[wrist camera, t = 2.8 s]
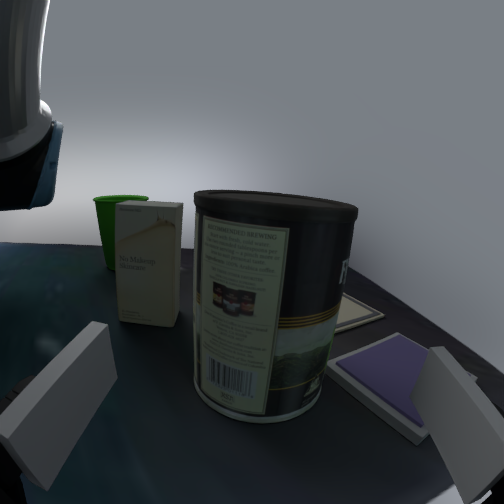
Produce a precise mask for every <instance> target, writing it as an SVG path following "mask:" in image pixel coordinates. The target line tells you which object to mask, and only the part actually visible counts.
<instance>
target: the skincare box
mask: <svg viewBox="0 0 504 504" xmlns="http://www.w3.org/2000/svg"><path fill="white" fill-rule="evenodd" d="M182 216H183V203H174V202H156V201H134V200H128V201H124V202H121V203H116V208H115V272H116V290H117V304H118V316H119V320H120V321H124V322H131V323H138V324H146V325H154V326H162V327H174V324H175V322H176V319H177V316H178V313H179V296H180V255H181V234H182Z"/></svg>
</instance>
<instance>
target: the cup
mask: <svg viewBox="0 0 504 504" xmlns="http://www.w3.org/2000/svg"><path fill="white" fill-rule="evenodd" d="M148 199H149V198H148V197H146V196H137V195H114V196H101V197H96V198H94V199H93V201H95V204H96V212H97V218H98V224H99V230H100V236H101V241H102V246H103V251H104V256H105V261H106V265H107V266H108V268H109V269H111V270H115V208H116V203H121V202H124V201H128V200H134V201H147V200H148Z"/></svg>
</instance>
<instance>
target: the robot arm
mask: <svg viewBox="0 0 504 504" xmlns="http://www.w3.org/2000/svg"><path fill="white" fill-rule="evenodd" d="M49 2H50V0H0V211H8V210H21V209H28V210H30V209H32V208H34V207H42V206H46V205H48V204H50V203H51V202H52V200H53V197H54V193H55V184H56V174H57V165H58V158H59V150H60V145H61V138H62V132H63V124H62V123H61V122H57V121H52V117H51V110H50V108H49V107H48V105H47V104H46V103H45V102H43V101H41V100H40V79H41V78H40V77H41V60H42V50H43V40H44V32H45V25H46V19H47V13H48V8H49ZM117 378H118V377H117V373H116V368H115V363H114V358H113V352H112V347H111V341H110V335H109V328H108V324H103V323H98V322H94V321H92V322H91V323H90V324H89V325H88V326H87V327H86V328H85V329H83V330H82V331H81V332H80V333H79V334H78V335H77V336H76V337H75V338H74V339H73V340H72V341H71V342H70V343H69V344H68V345H67V346H66V347H65V348H64V349H63V350H62V351H61V352H60V353H59V354H58V355H57V356H56V357H55V358H54V359H53V360H52V361H51V362H50V363H49V364H48V365H47V366H46V367H45V368H44V369H43V370H42V371H41V372H40V373H39V374H38V375H37V376H36V377H35V376H33V375H30V376H28V377H27V378H25V379H23V380H21V381H19V382H18V383H17V384H16V386H15V387H14V388H13V389H12V391H10V392H9V393H8V394H7V395H6V396H5V398H3V399H2V400H1V401H0V504H27V502H26V498H25V493H24V489H23V484H22V481H21V479H20V477H19V476H20V474H21V473H22V472H23V473H24V475H25V476H26V477H27V478H28V479H29V481H30V482H32V483H34V484H36V485H37V486H39V487H41V488H42V489H44V490H46V491H48V490H49V488H50V487H51V485H52V483H53V481H54V480H55V478H56V476H57V474H58V473H59V471H60V469H61V468H62V466H63V464H64V463H65V461H66V459H67V457H68V456H69V454H70V452H71V451H72V449H73V448H74V446H75V444H76V443H77V441H78V439H79V438H80V436H81V434H82V433H83V431H84V430H85V428H86V426H87V425H88V423H89V422H90V420H91V418H92V417H93V415H94V414H95V412H96V411H97V409H98V407H99V406H100V404H101V403H102V401H103V400H104V398H105V397H106V395H107V393H108V392H109V390H110V389H111V387H112V386H113V384H114V383H115V381H116V380H117ZM409 397H410V399H411V401H412V402H413V404H414V406H415V408H416V410H417V411H418V413H419V415H420V417H421V419H422V420H423V422H424V424H425V426H426V428H427V430H428V432H429V433H430V435H431V437H432V439H433V441H434V443H435V445H436V447H437V449H438V451H439V453H440V455H441V457H442V459H443V461H444V463H445V465H446V467H447V469H448V471H449V473H450V475H451V477H452V479H453V481H454V483H455V485H456V487H457V489H458V492H459V494H460V496H461V498H462V500H463V503H464V504H471V503H473V502H475V501H477V500H479V499H481V498H482V497H483V496H484V495H485V494H486V493H487V492H488V491H489V490H491V492H492V494H491V495H490V496H489V497H488V498H487V499H486V500H485V501H484V502H482V503H481V504H504V412H503V410H502V409H501V408H500V407H498V406H497V405H496V404H494V403H493V402H491V401H490V400H489V399H488V398H487V396H486V395H485V394H484V393H483V392H482V390H481V389H480V388H479V387H478V385H477V384H476V383H475V382H474V381H473V380H472V378H471V377H470V376H469V375H468V374H467V373H466V371H465V370H464V369H463V368H462V367H461V366H460V364H459V363H458V362H457V361H456V360H455V359H454V358H453V357H452V355H451V354H450V353H449V352H448V351H447V350H446V349H445V348H444V347H443V346H442V347H430V349H429V352H428V355H427V357H426V360H425V362H424V365H423V367H422V369H421V372H420V374H419V376H418V379H417V381H416V383H415V385H414V388H413V390H412V392H411V394H410V396H409Z"/></svg>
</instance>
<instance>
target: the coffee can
mask: <svg viewBox="0 0 504 504" xmlns="http://www.w3.org/2000/svg"><path fill="white" fill-rule="evenodd" d="M194 204H195V206H196V214H195V238H194V239H195V240H194V280H193V322H194V385H195V388H196V391H197V393H198V394H199V396H200V397H201V398H202V400H203V401H204V402H205V403H206V404H207V405H208V406H210V407H211V408H213V409H214V410H216V411H218V412H219V413H221V414H223V415H225V416H228V417H230V418H233V419H236V420H240V421H244V422H251V423H260V424H264V423H275V422H281V421H286V420H289V419H292V418H294V417H297V416H299V415H301V414H303V413H304V412H306V411H307V410H309V409H310V408H311V407H312V406H313V405H314V404H315V402H316V401H317V399H318V398H319V395H320V392H321V387H322V381H323V378H324V373H325V370H326V366H327V362H328V358H329V354H330V349H331V345H332V341H333V337H334V332H335V328H336V324H337V319H338V314H339V309H340V305H341V300H342V295H343V290H344V285H345V279H346V274H347V268H348V262H349V256H350V250H351V243H352V237H353V230H354V223H355V220H356V219H357V216H358V208H357V207H355V206H354V205H351V204H347V203H343V202H338V201H333V200H328V199H321V198H314V197H307V196H300V195H291V194H282V193H272V192H258V191H240V190H203V191H198V192H195V193H194Z"/></svg>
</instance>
